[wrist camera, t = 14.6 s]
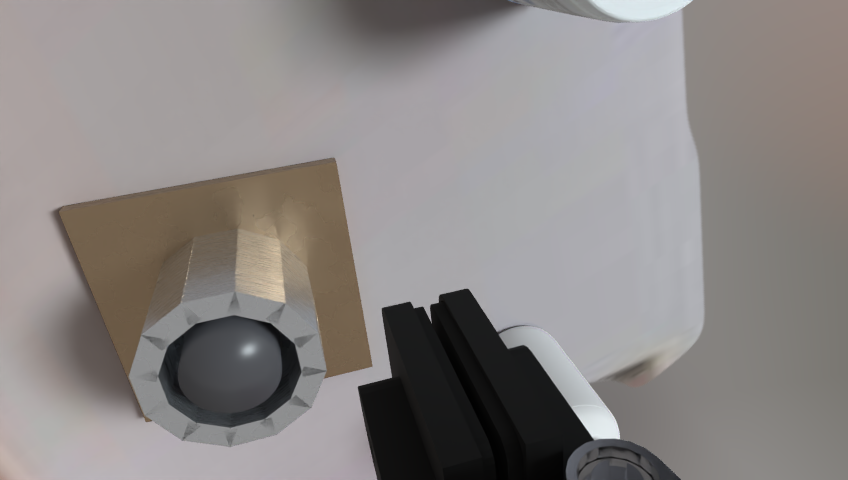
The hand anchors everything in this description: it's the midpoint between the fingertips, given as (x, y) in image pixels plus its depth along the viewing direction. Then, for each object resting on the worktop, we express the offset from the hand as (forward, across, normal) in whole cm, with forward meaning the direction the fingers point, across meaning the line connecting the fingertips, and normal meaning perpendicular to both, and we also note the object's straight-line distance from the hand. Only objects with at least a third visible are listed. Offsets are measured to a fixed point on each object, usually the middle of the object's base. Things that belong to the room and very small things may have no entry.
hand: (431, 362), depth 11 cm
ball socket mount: (+32, +8, +15) cm, 36 cm away
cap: (+27, +8, +15) cm, 32 cm away
